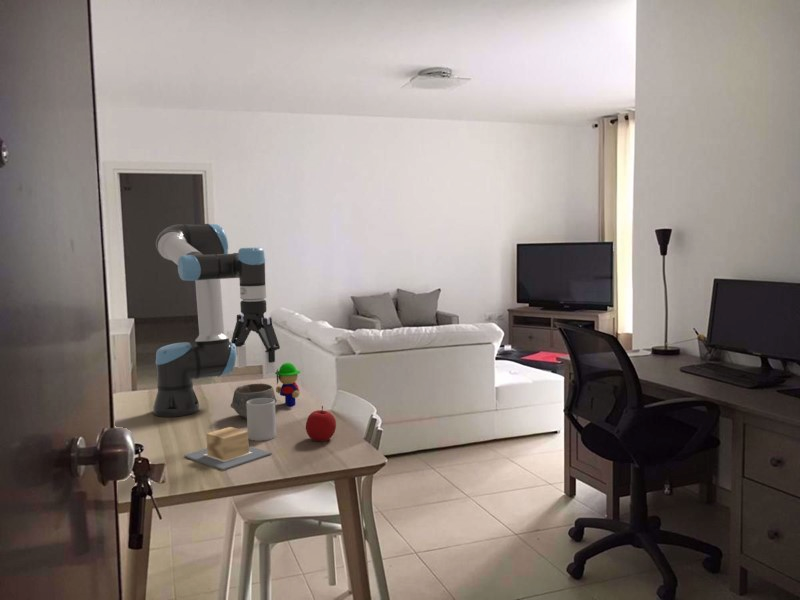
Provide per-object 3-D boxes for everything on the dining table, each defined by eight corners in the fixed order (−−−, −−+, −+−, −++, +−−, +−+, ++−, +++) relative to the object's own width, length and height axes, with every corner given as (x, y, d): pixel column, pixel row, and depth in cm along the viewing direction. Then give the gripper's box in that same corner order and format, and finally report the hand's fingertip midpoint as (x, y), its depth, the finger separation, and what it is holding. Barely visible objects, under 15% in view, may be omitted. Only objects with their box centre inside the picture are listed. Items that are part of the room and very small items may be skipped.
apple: (302, 437, 208) (301, 404, 207) (331, 433, 211) (330, 401, 210) (310, 446, 200) (309, 412, 198) (340, 441, 203) (339, 408, 202)
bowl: (260, 408, 242) (259, 380, 241) (286, 416, 231) (285, 387, 230) (224, 417, 232) (223, 387, 231) (249, 425, 221) (248, 395, 220)
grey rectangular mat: (184, 456, 192) (184, 454, 192) (232, 442, 204) (231, 440, 204) (223, 470, 180) (223, 468, 180) (271, 454, 192) (271, 452, 192)
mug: (278, 439, 207) (277, 403, 206) (249, 442, 204) (248, 406, 203) (271, 428, 218) (270, 394, 217) (244, 431, 215) (243, 396, 214)
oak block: (207, 454, 192) (206, 433, 191) (231, 447, 198) (230, 426, 197) (224, 460, 186) (223, 438, 186) (248, 452, 193) (248, 431, 192)
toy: (276, 400, 253) (275, 360, 251) (302, 399, 254) (301, 359, 252) (273, 408, 242) (272, 366, 240) (300, 407, 243) (299, 365, 241)
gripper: (217, 298, 211) (220, 366, 213) (269, 303, 194) (272, 377, 197) (238, 296, 216) (241, 362, 219) (290, 301, 200) (292, 373, 202)
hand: (255, 370), depth 208 cm, fingers open, 13 cm apart
